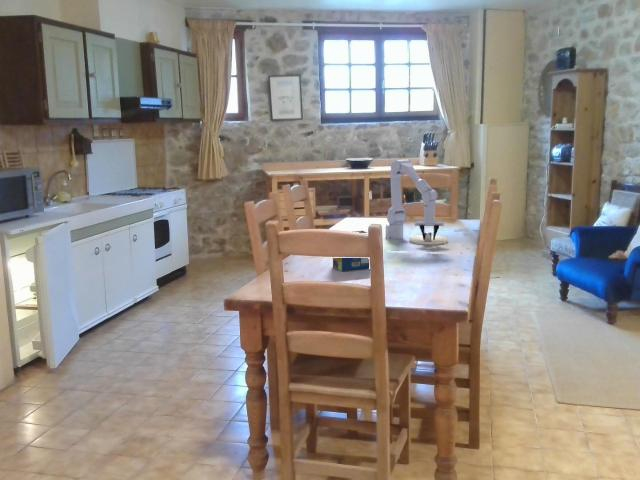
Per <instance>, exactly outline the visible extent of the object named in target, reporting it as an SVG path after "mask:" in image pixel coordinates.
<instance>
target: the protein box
mask: <svg viewBox="0 0 640 480" xmlns="http://www.w3.org/2000/svg"><path fill="white" fill-rule="evenodd" d="M353 232H359V233H368V232H367V231H365V230H355V231H353ZM332 267H333V268H335V269H336V270H338V271H340V272H349V271H350V272H353V271H361V270H369V269H368V268H369V259H368V258H333V257H332Z"/></svg>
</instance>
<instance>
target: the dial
mask: <svg viewBox="0 0 640 480" xmlns="http://www.w3.org/2000/svg"><path fill="white" fill-rule="evenodd" d="M424 236H425V240H423V235H422V234H419V235H413V236H410V237H409V238H408V239H409V240H408V242H409V243H411V244H414V245H423V246H424V245H425V246H438V245H445V244H448V240H449V239H448V237H445V236H441V235H436V236H435V240H433V234H432V232H431V231H427V232H425V231H424Z"/></svg>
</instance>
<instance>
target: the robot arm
mask: <svg viewBox="0 0 640 480" xmlns="http://www.w3.org/2000/svg"><path fill="white" fill-rule="evenodd" d="M404 174H407V176H408V177H410V179H411V180H412V181H413V182H414V183H415V185H414V186H415V188H416V189H417V190H418V192H419V193H420V194H421V200H422V202H423V203H422V204H423V221H422V220H421V221H415V222H414V226H415V227H417V226H418V227H419V229H420V232H421V235H423V240H425V236H424V233H425V228H426V227H428V226H429V227H433V234H432V235H433V240H435V236H437V232H438V231H439V228H440V227H444V226H445V224H444V223H445V222H444V221H436V202H437V200H438V198H439V194H438V192H437V189H433V188H432V187H431V186H430V185H429V184H428V183H427V180H425V179H422V178H421V177H420V175H419V174H418V172H417V171H416V169H415V168H414V164H413V162H412V161H411V160H410V159H395V160H393V161H392V162H391V163H390V173H389V175H390V176H389V177H390V197H391V198H390V199H391V202H390V203H391V207H389V209H387V215H386V220H387V222H388V223H387V224H386V225H385V238H386V239H387V240H402V239H404V225H405V222H406V220H407V213H406V208H404V206H403V205H402V204H403V203H402V185H401V184H402V181H401V180H402V179H401V178H402V176H403V175H404Z"/></svg>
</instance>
